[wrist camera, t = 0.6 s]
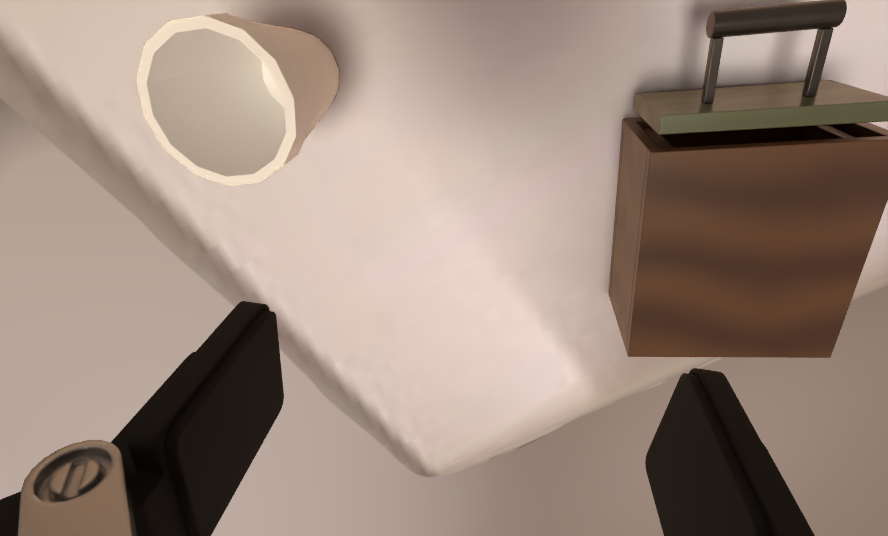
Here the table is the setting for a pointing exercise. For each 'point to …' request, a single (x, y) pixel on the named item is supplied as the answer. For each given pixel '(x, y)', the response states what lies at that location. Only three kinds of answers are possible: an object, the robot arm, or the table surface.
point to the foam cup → (234, 94)
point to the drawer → (762, 89)
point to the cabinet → (743, 242)
